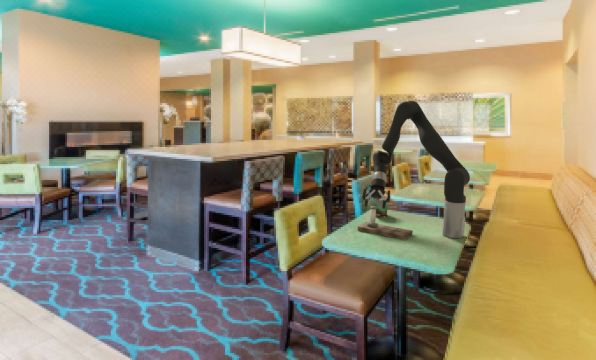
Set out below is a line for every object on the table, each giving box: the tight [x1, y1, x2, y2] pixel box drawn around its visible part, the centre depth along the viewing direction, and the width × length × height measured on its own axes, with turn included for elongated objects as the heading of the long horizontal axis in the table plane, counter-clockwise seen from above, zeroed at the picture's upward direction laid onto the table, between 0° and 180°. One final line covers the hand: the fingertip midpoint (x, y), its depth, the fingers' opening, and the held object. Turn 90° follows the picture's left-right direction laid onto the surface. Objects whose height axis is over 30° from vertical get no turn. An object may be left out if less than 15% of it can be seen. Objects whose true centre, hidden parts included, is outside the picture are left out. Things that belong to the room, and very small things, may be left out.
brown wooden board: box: [357, 221, 414, 241], centre depth 190 cm, size 25×10×2 cm, turn 55°
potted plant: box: [373, 196, 390, 218], centre depth 220 cm, size 12×6×10 cm, turn 143°
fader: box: [367, 205, 379, 227], centre depth 192 cm, size 4×4×10 cm
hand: (374, 207), depth 195 cm, fingers open, 8 cm apart
